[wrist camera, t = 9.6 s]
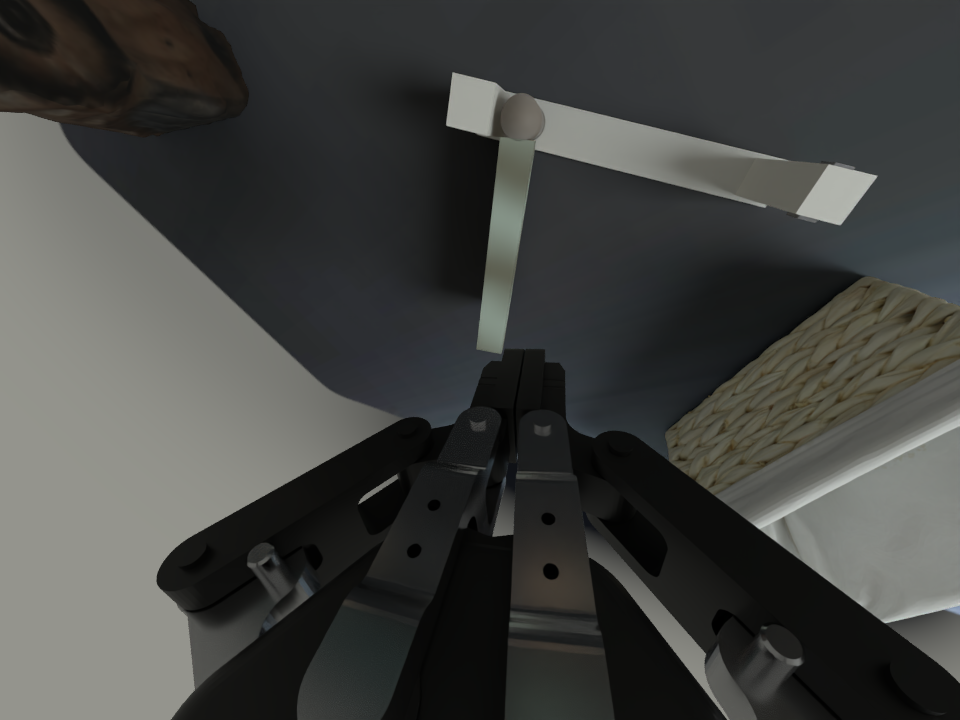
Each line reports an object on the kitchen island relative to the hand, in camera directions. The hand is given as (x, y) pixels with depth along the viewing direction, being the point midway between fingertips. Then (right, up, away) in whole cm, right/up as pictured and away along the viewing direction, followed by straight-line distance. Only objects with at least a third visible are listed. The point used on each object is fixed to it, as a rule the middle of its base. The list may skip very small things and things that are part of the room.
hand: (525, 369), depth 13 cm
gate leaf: (+1, +12, +16) cm, 20 cm away
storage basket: (+29, -3, +21) cm, 36 cm away
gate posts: (+9, +16, +13) cm, 23 cm away
